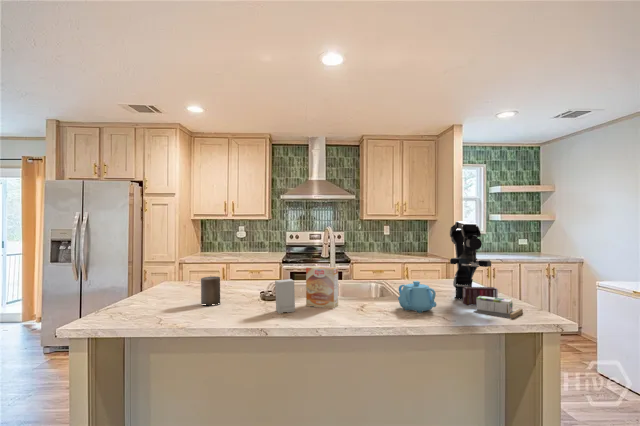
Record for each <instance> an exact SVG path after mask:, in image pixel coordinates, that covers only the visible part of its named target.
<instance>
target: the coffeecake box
mask: <svg viewBox="0 0 640 426" xmlns="http://www.w3.org/2000/svg"><path fill="white" fill-rule="evenodd" d="M305 280H306V281H305V286H306V287H305V288H306V291H305V296H306V297H305V301H306V307H310V306H314V307H313V308H321V307H325V308H324V309H332V308H334V309H335V308H337V307H338V306H339V267H336V266H333V267H332V266H318V265H317V266H316V265H315V266H314V265H312V266H307V267H306V268H305Z"/></svg>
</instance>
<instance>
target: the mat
mask: <svg viewBox="0 0 640 426" xmlns="http://www.w3.org/2000/svg"><path fill="white" fill-rule="evenodd" d="M523 311H524V310H523V308H518V309H516V310H514V311H513V310H512V312H511V313H510V314H506V313H498V312H491V311H484V310H477V309H476V310H473V313H476V314H477V313H478V314H484V315H487V316H494V317H500V318H506V319H510V318H511V320H513V319H515V317H516V318H517V317H520V316H521V315H523V314H522V313H524V312H523Z"/></svg>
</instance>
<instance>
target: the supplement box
mask: <svg viewBox="0 0 640 426" xmlns="http://www.w3.org/2000/svg"><path fill="white" fill-rule="evenodd" d="M498 292H499V289H498V288H496V287H494V286H493V287H492V286H491V287H490V286H472V287H463V299H462V304H464V305H465V306H477V304H476V298H477V297H479V296H486V297H494V298H499V297H498V294H499V293H498Z"/></svg>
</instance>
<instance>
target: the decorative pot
mask: <svg viewBox="0 0 640 426" xmlns="http://www.w3.org/2000/svg"><path fill="white" fill-rule="evenodd" d="M398 293H399V296H398V298H397V299H398V302H399V306H400V307H401V308H402V309H404V311H407V310H409V311H416V313H419V314H422V313H423V312H426V311H429V310H432V309H433V308H436V307H437V302H436V301H435V299H436V296H437V295H436V294H437V293H436V291H435V289H434V288H432V287H430V286H429V285H428V284H421V282H420V281H418V280H414V281H412V283H408V284H400V285H399V286H398Z"/></svg>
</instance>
